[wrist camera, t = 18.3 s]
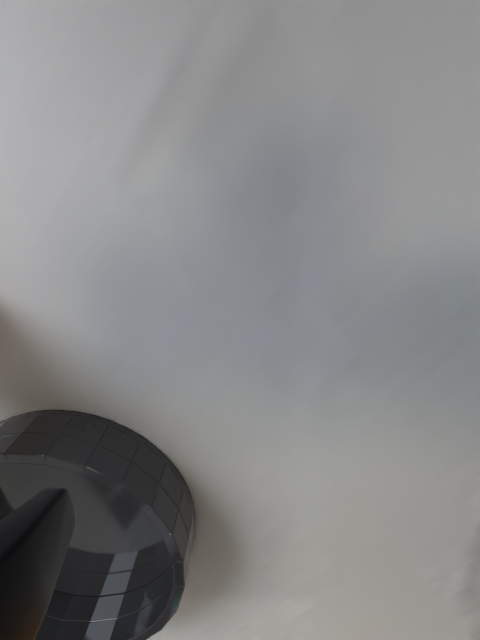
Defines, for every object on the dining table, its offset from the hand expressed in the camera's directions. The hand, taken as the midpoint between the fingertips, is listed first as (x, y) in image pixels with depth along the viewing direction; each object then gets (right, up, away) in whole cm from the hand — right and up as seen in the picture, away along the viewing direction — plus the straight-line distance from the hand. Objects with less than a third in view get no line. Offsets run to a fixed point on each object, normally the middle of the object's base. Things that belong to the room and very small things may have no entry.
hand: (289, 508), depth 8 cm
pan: (-11, -8, +18) cm, 22 cm away
